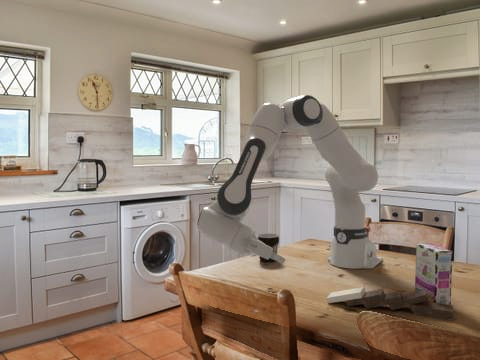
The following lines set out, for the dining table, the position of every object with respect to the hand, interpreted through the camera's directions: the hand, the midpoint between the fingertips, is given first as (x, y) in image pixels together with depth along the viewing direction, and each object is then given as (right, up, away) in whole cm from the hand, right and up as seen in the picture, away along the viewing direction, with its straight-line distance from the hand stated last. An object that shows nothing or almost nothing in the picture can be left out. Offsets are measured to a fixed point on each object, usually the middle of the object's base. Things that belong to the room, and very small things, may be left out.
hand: (284, 261), depth 139 cm
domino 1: (+17, -9, -10) cm, 22 cm away
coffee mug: (-1, -7, +40) cm, 40 cm away
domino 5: (+33, -11, -16) cm, 39 cm away
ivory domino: (+13, -9, -7) cm, 17 cm away
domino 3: (+28, -10, -14) cm, 32 cm away
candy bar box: (+41, -10, -10) cm, 43 cm away
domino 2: (+22, -10, -12) cm, 26 cm away
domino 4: (+33, -9, -16) cm, 38 cm away
